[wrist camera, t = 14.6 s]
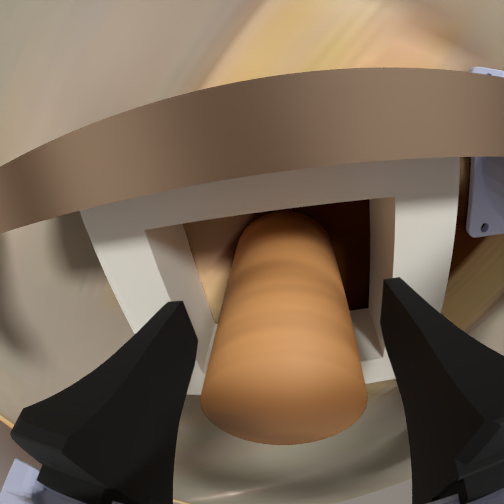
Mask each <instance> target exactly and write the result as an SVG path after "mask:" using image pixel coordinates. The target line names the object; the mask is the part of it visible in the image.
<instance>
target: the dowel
mask: <svg viewBox="0 0 504 504" xmlns="http://www.w3.org/2000/svg"><path fill="white" fill-rule="evenodd" d="M200 403H201V407H202V410H203V412H204V414H205V415H206V417H207V418H208V419H209V420H210V421H211V422H212V423H213V424H214V425H216V426H217V427H218V428H220V429H221V430H223V431H225V432H227V433H229V434H231V435H233V436H236V437H238V438H241V439H244V440H248V441H252V442H257V443H263V444H272V445H294V444H303V443H310V442H314V441H318V440H322V439H325V438H328V437H331V436H333V435H336V434H338V433H340V432H342V431H343V430H345V429H347V428H348V427H350V426H351V425H352V424H354V423H355V422H356V421H357V420H358V419H359V418H360V416H361V415H362V414H363V412H364V410H365V408H366V405H367V392H366V386H365V381H364V376H363V371H362V366H361V361H360V356H359V352H358V347H357V342H356V338H355V333H354V329H353V325H352V320H351V316H350V312H349V308H348V304H347V299H346V295H345V291H344V288H343V284H342V280H341V276H340V272H339V268H338V265H337V261H336V257H335V254H334V250H333V247H332V243H331V240H330V238H329V235H328V234H327V232H326V231H325V229H324V228H323V227H322V226H321V225H320V224H319V223H318V222H317V221H316V220H314V219H312V218H311V217H309V216H307V215H304V214H301V213H298V212H292V211H277V212H272V213H269V214H265V215H263V216H261V217H259V218H257V219H256V220H254V221H253V222H252V223H250V224H249V225H248V226H247V227H246V229H245V230H244V231H243V233H242V234H241V236H240V238H239V241H238V244H237V248H236V252H235V256H234V260H233V264H232V268H231V272H230V276H229V280H228V284H227V288H226V292H225V296H224V300H223V305H222V309H221V313H220V317H219V321H218V325H217V329H216V333H215V338H214V342H213V346H212V350H211V354H210V359H209V363H208V367H207V371H206V376H205V380H204V384H203V388H202V393H201V399H200Z"/></svg>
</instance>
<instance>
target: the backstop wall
mask: <svg viewBox="0 0 504 504" xmlns="http://www.w3.org/2000/svg"><path fill="white" fill-rule="evenodd" d="M440 157H504V77H499V76H492V75H486V74H479V73H471V72H462V71H452V70H439V69H423V68H353V69H335V70H322V71H312V72H302V73H293V74H285V75H278V76H271V77H265V78H258V79H252V80H247V81H241V82H236V83H231V84H226V85H221V86H216V87H212V88H207V89H203V90H199V91H195V92H191V93H187V94H183V95H179V96H175V97H172V98H168V99H165V100H161V101H158V102H154V103H151V104H148V105H144V106H141V107H138V108H135V109H132V110H129V111H126V112H123V113H120V114H117V115H114V116H112V117H109V118H106V119H103V120H101V121H98V122H95V123H93V124H90V125H88V126H85V127H83V128H80V129H78V130H75V131H73V132H71V133H68V134H66V135H64V136H61V137H59V138H57V139H55V140H52V141H50V142H48V143H46V144H44V145H42V146H40V147H37V148H35V149H33V150H31V151H29V152H27V153H25V154H23V155H21V156H19V157H18V158H16V159H14V160H12V161H10V162H8V163H6V164H4V165H3V166H1V167H0V233H3V232H6V231H10V230H13V229H16V228H19V227H23V226H26V225H29V224H33V223H36V222H40V221H43V220H47V219H50V218H54V217H57V216H61V215H65V214H69V213H72V212H76V211H80V210H84V209H88V208H92V207H96V206H100V205H104V204H108V203H113V202H117V201H121V200H126V199H130V198H135V197H139V196H144V195H148V194H153V193H158V192H163V191H168V190H173V189H178V188H183V187H188V186H194V185H199V184H205V183H210V182H216V181H222V180H228V179H234V178H240V177H247V176H253V175H260V174H267V173H274V172H281V171H289V170H297V169H305V168H313V167H322V166H331V165H340V164H351V163H362V162H373V161H386V160H401V159H418V158H440Z"/></svg>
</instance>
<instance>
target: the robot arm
mask: <svg viewBox="0 0 504 504" xmlns="http://www.w3.org/2000/svg"><path fill="white" fill-rule="evenodd" d="M469 72H471V73H479V74H487V75H492V76H499V77H504V71H501V70H496V69H490V68H484V67H472V68H470V69H469ZM484 223H485V225H484V227H483V228H482V229H481V226H482V225H483V224H484ZM466 231H467V233H468V234H469V235H470V236H471V237H475V238H476V237H483V236H490V235H498V234H504V157H471V174H470V191H469V203H468V213H467V222H466ZM380 326H381V330H382V335H383V340H384V344H385V348H386V351H387V354H388V357H389V360H390V363H391V366H392V369H393V372H394V375H395V378H396V381H397V384H398V387H399V391H400V394H401V397H402V401H403V405H404V410H405V416H406V422H407V428H408V436H409V444H410V454H411V467H412V495H413V496H412V504H504V356H503V355H501V354H499V353H497V352H496V351H494V350H492V349H490V348H488V347H487V346H485V345H483V344H482V343H480V342H478V341H477V340H475V339H474V338H472V337H471V336H470V335H468V334H467V333H465V332H464V331H462V330H461V329H459V328H458V327H457V326H455V325H454V324H453V323H452V322H450V321H449V320H448V319H447V318H445V317H444V316H443V315H442V314H440V313H439V312H438V311H437V310H436V309H435V308H433V307H432V306H431V305H430V304H429V303H428V302H427V301H425V300H424V299H423V298H422V297H421V296H420V295H419V294H418V293H417V292H415V291H414V290H413V289H412V288H411V287H410V286H409V285H408V284H407V283H406V282H405V281H403V280H402V279H401V278H400V277H397V278H390V279H383V293H382V306H381V317H380ZM197 347H198V338H197V335H196V333H195V330H194V328H193V325H192V323H191V320H190V318H189V315H188V313H187V310H186V308H185V305H184V302H183V301H170V302H167V303H166V304H165V305H164V306H163V307H162V308H161V309H160V310H159V311H158V312H157V313H156V314H155V315H154V316H153V317H152V318H151V319H150V320H149V321H148V322H147V323H146V324H145V325H144V326H143V327H142V328H141V329H140V330H139V331H138V332H137V333H136V334H135V335H134V336H133V337H132V338H131V339H130V340H129V341H128V342H127V343H125V344H124V345H123V346H122V347H121V348H120V349H119V350H118V351H117V352H116V353H115V354H114V355H112V356H111V357H110V358H109V359H108V360H107V361H105V362H104V363H103V364H101V365H100V366H99V367H98V368H96V369H95V370H94V371H92V372H91V373H90V374H88V375H87V376H85V377H84V378H82V379H80V380H79V381H77V382H76V383H74V384H73V385H71V386H70V387H68V388H66V389H64V390H63V391H61V392H59V393H57V394H55V395H53V396H51V397H49V398H47V399H45V400H43V401H40V402H38V403H36V404H33V405H31V406H29V407H26V408H24V409H23V410H22V412H21V414H20V416H19V417H18V419H17V421H16V423H15V425H14V427H13V429H12V431H11V433H10V434H11V437H12V439H13V440H14V441H15V442H16V443H17V444H18V445H19V446H20V447H21V448H22V449H23V450H25V451H26V452H27V453H28V454H30V455H31V456H32V457H34V458H35V459H36V460H37V461H38V462H40V463H41V464H42V465H43V466H42V468H41V470H39V469H37V468H36V467H34V466H32V465H30V464H28V463H26V462H24V461H22V460H20V459H18V458H16V459H15V461H14V463H13V465H12V467H11V469H10V471H9V474H8V476H7V479H6V481H5V483H4V486H3V488H2V491H1V493H0V504H173V472H174V458H175V449H176V440H177V433H178V427H179V421H180V416H181V412H182V408H183V405H184V401H185V398H186V394H187V391H188V387H189V384H190V380H191V376H192V373H193V369H194V366H195V361H196V354H197Z"/></svg>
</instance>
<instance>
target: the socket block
mask: <svg viewBox="0 0 504 504" xmlns="http://www.w3.org/2000/svg"><path fill="white" fill-rule="evenodd" d="M459 178H460V157H440V158H418V159H401V160H386V161H373V162H362V163H351V164H340V165H331V166H322V167H313V168H305V169H297V170H289V171H281V172H274V173H267V174H260V175H253V176H247V177H240V178H234V179H228V180H222V181H216V182H210V183H205V184H199V185H194V186H188V187H183V188H178V189H173V190H168V191H163V192H158V193H153V194H148V195H144V196H139V197H135V198H130V199H126V200H121V201H117V202H113V203H108V204H104V205H100V206H96V207H92V208H88V209H84V210H80V211H79V212H80V214H81V217H82V220H83V222H84V225H85V227H86V230H87V232H88V235H89V237H90V240H91V242H92V245H93V247H94V250H95V252H96V254H97V257H98V259H99V261H100V264H101V266H102V268H103V270H104V273H105V275H106V277H107V279H108V281H109V283H110V286H111V288H112V290H113V292H114V294H115V296H116V298H117V300H118V302H119V304H120V306H121V308H122V310H123V312H124V314H125V316H126V318H127V320H128V322H129V324H130V326H131V328H132V330H133V332H134V333H135V334H136V333H137V332H138V331H139V330H140V329H141V328H142V327H143V326H144V325H145V324H146V323H147V322H148V321H149V320H150V319H151V318H152V317H153V316H154V315H155V314H156V313H157V312H158V311H159V310H160V309H161V308H162V307H163V306H164V305H165V304H166V303H167V302H170V301H183V302H184V305H185V308H186V310H187V313H188V315H189V318H190V320H191V323H192V325H193V328H194V330H195V333H196V335H197V338H198V347H197V354H196V361H195V366H194V369H193V373H192V376H191V380H190V384H189V387H188V391H187V394H186V395H201V393H202V388H203V384H204V380H205V376H206V371H207V367H208V363H209V359H210V354H211V350H212V346H213V342H214V338H215V333H216V329H217V325H218V323H217V324H215V323H214V320H213V317H212V314H211V311H210V308H209V305H208V302H207V299H206V296H205V293H204V290H203V287H202V284H201V281H200V278H199V275H198V271H197V268H196V265H195V262H194V259H193V256H192V252H191V249H190V246H189V243H188V239H187V236H186V233H185V229H184V226H183V223H190V222H196V221H203V220H209V219H216V218H223V217H229V216H236V215H244V214H251V213H258V212H265V211H273V210H281V209H288V208H296V207H304V206H313V205H321V204H329V203H338V202H347V201H356V200H366V199H369V206H370V284H369V308H366V309H358V310H351V311H349V312H350V316H351V320H352V325H353V329H354V333H355V338H356V342H357V347H358V352H359V356H360V361H361V366H362V371H363V376H364V381H365V384H368V383H374V382H380V381H386V380H391V379H396V378H395V375H394V372H393V369H392V366H391V363H390V360H389V357H388V354H387V351H386V348H385V344H384V340H383V335H382V330H381V326H380V317H381V306H382V293H383V279H390V278H397V277H400V278H401V279H402V280H403V281H405V282H406V283H407V284H408V285H409V286H410V287H411V288H412V289H413V290H414V291H415V292H417V293H418V294H419V295H420V296H421V297H422V298H423V299H424V300H425V301H427V302H428V303H429V304H430V305H431V306H432V307H433V308H435V309H436V310H437V311H438V312H439V313H440V314H441V310H442V306H443V301H444V297H445V292H446V287H447V282H448V276H449V271H450V265H451V259H452V252H453V245H454V237H455V229H456V220H457V209H458V196H459Z"/></svg>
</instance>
